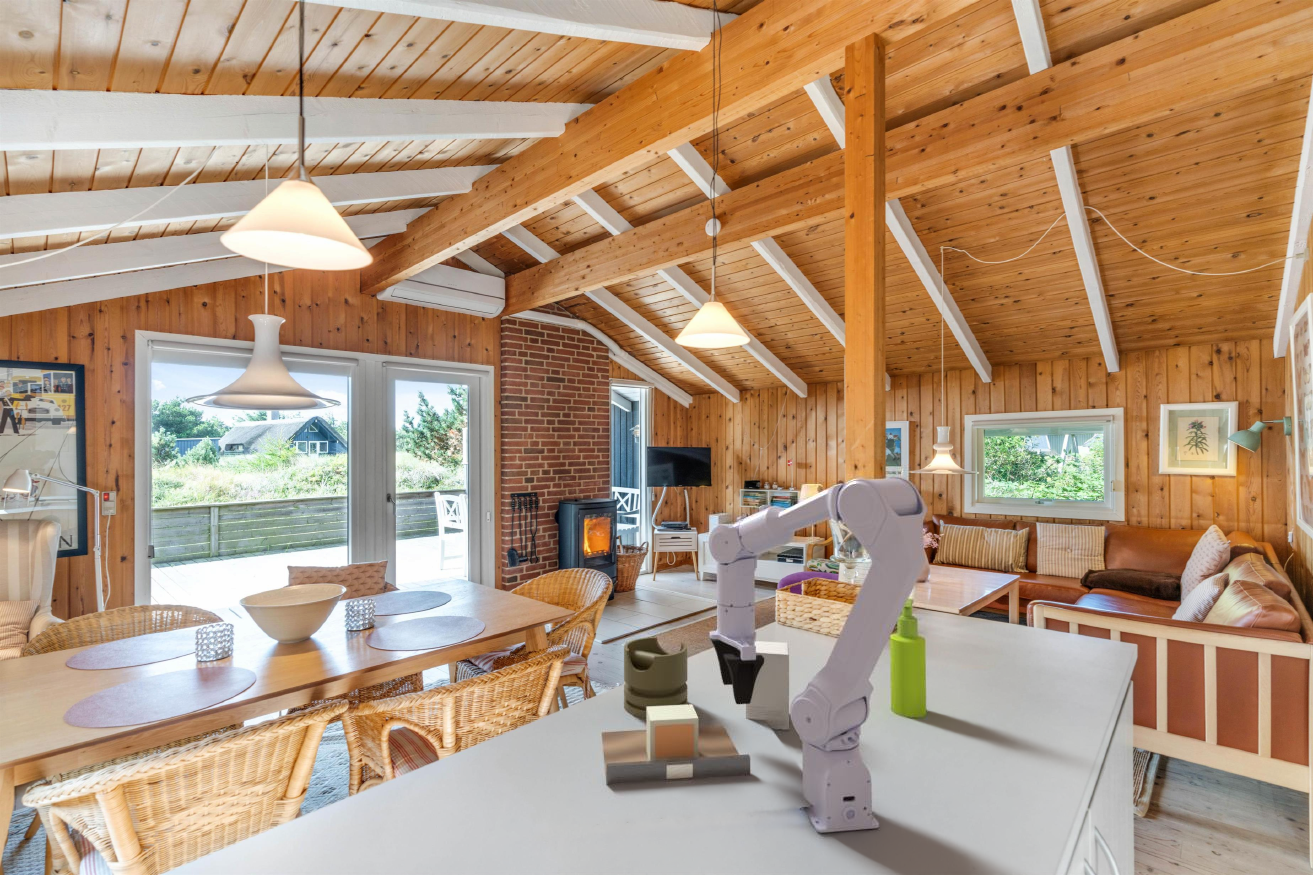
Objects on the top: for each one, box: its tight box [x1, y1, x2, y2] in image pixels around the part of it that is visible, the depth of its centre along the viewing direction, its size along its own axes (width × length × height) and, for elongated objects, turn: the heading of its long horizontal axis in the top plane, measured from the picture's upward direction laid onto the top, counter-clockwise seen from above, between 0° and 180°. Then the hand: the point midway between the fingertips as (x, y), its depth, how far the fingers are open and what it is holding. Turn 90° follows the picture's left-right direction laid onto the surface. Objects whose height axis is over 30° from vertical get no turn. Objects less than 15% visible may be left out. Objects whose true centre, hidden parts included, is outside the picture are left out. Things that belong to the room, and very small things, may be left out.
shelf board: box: [601, 724, 744, 786], centre depth 93 cm, size 16×20×2 cm
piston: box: [623, 636, 688, 720], centre depth 111 cm, size 11×12×11 cm
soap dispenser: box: [889, 598, 927, 719], centre depth 111 cm, size 6×7×20 cm
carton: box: [645, 703, 699, 761], centre depth 91 cm, size 5×7×6 cm
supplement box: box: [745, 640, 790, 731], centre depth 108 cm, size 7×7×13 cm
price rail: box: [605, 754, 751, 785], centre depth 85 cm, size 1×20×2 cm, turn 97°
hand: (736, 693), depth 94 cm, fingers open, 7 cm apart
